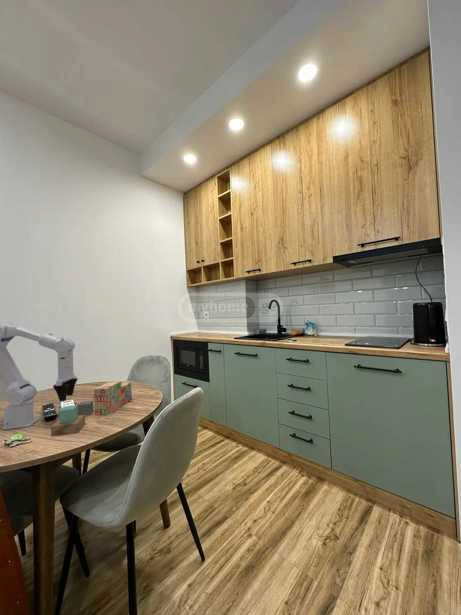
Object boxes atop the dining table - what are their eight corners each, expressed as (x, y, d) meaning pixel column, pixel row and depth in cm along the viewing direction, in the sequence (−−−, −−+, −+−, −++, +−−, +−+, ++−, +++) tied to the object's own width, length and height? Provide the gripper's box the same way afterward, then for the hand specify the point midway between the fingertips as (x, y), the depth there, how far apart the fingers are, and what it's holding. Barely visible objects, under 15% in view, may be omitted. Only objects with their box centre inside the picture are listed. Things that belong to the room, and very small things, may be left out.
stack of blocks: (121, 399, 136) (120, 376, 137) (131, 399, 136) (131, 376, 136) (94, 415, 115) (93, 388, 116) (107, 415, 114) (106, 388, 115)
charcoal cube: (77, 416, 115) (77, 405, 115) (81, 412, 120) (81, 401, 120) (90, 415, 116) (89, 404, 116) (93, 411, 121) (93, 400, 121)
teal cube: (59, 423, 98) (59, 410, 98) (64, 419, 103) (63, 406, 103) (74, 421, 100) (73, 408, 100) (77, 417, 104) (77, 404, 104)
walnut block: (51, 437, 96) (50, 426, 96) (61, 427, 104) (60, 417, 105) (77, 433, 98) (77, 423, 98) (85, 424, 107) (85, 414, 107)
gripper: (69, 369, 106) (69, 402, 106) (81, 363, 120) (82, 392, 120) (50, 371, 105) (50, 404, 104) (64, 364, 119) (65, 393, 119)
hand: (66, 398), depth 112 cm, fingers open, 7 cm apart
